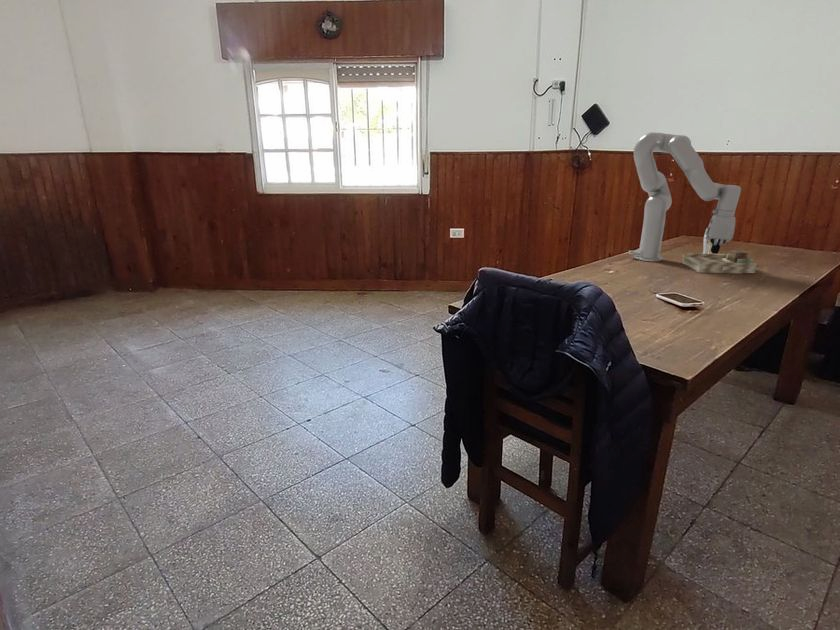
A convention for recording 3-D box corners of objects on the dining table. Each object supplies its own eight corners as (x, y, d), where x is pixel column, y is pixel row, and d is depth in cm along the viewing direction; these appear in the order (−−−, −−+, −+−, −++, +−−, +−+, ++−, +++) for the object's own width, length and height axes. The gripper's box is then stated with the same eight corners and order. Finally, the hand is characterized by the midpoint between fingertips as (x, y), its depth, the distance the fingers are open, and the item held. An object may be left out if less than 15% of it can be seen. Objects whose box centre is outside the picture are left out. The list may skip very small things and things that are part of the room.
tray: (698, 272, 226) (700, 260, 224) (681, 262, 244) (683, 251, 242) (754, 273, 224) (757, 261, 222) (733, 263, 242) (736, 252, 240)
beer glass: (718, 260, 248) (724, 230, 243) (704, 260, 248) (710, 230, 243) (711, 257, 255) (717, 227, 250) (697, 257, 255) (702, 227, 250)
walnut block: (733, 263, 230) (736, 252, 228) (728, 260, 235) (731, 250, 233) (745, 263, 229) (747, 252, 228) (740, 261, 234) (742, 250, 232)
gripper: (711, 213, 223) (700, 254, 229) (746, 215, 222) (734, 256, 228) (703, 211, 230) (694, 250, 236) (737, 213, 229) (727, 252, 235)
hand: (714, 253), depth 232 cm, fingers closed
